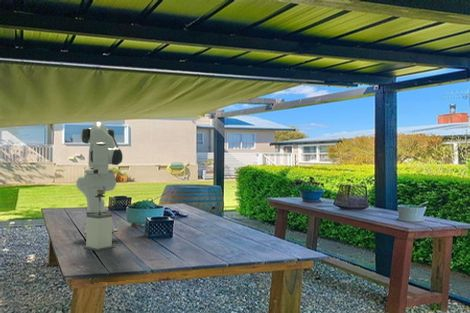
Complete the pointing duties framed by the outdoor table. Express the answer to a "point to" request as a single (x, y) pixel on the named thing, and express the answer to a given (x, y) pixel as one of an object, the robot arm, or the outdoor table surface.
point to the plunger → (100, 199)
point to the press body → (99, 232)
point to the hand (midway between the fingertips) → (99, 194)
